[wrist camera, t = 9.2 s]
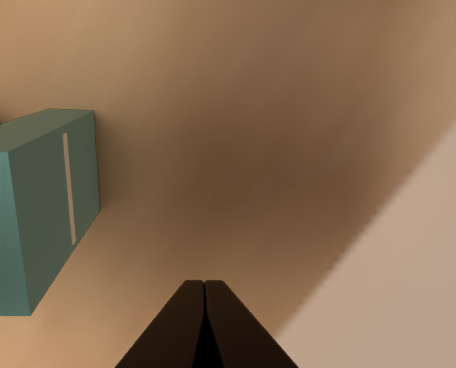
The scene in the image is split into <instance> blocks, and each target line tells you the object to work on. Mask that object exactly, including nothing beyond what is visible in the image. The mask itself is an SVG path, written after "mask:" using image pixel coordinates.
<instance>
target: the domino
mask: <svg viewBox="0 0 456 368" xmlns="http://www.w3.org/2000/svg"><path fill="white" fill-rule="evenodd" d="M99 211H100V208H99V191H98V175H97V158H96V141H95V125H94V111H92V110H70V109H45V110H42V111H39V112H36V113H33V114H30V115H27V116H24V117H21V118H18V119H15V120H12V121H8V122H5V123H2V124H0V316H31V314H32V313H33V311H34V310H35V308H36V307H37V305H38V304H39V302H40V301H41V299H42V298H43V296H44V295H45V293H46V292H47V290H48V289H49V287H50V285H51V284H52V282H53V281H54V279H55V278H56V276H57V275H58V273H59V272H60V270H61V269H62V267H63V266H64V264H65V263H66V261H67V260H68V258H69V257H70V255H71V254H72V252H73V251H74V249H75V247H76V246H77V244H78V243H79V241H80V240H81V238H82V237H83V235H84V234H85V232H86V231H87V229H88V228H89V226H90V225H91V223H92V222H93V220H94V219H95V217H96V216H97V214H98V213H99Z"/></svg>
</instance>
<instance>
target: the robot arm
mask: <svg viewBox="0 0 456 368" xmlns="http://www.w3.org/2000/svg"><path fill="white" fill-rule="evenodd" d="M115 368H299V367H298V366H297V365H296V364H295V363H294V362H293V361H292V359H291V358H290V357H289V356H288V355H287V354H286V352H285V351H284V350H283V349H282V348H281V347H280V346H279V344H278V343H277V342H276V341H275V340H274V339H273V337H272V336H271V335H270V334H269V333H268V332H267V331H266V329H265V328H264V327H263V326H262V325H261V324H260V323H259V321H258V320H257V319H256V318H255V317H254V316H253V315H252V313H251V312H250V311H249V310H248V309H247V308H246V307H245V305H244V304H243V303H242V302H241V301H240V300H239V298H238V297H237V296H236V295H235V294H234V293H233V292H232V290H231V289H230V288H229V287H228V286H227V285H226V284H225V282H224V281H222V280H206V281H205V282H203V281H202V280H185V281H184V282H183V283H182V285H181V286H180V287H179V288H178V290H177V291H176V292H175V293H174V295H173V296H172V297H171V298H170V300H169V301H168V302H167V303H166V304H165V306H164V307H163V308H162V309H161V311H160V312H159V313H158V314H157V316H156V317H155V318H154V319H153V321H152V322H151V323H150V324H149V326H148V327H147V328H146V329H145V331H144V332H143V333H142V334H141V336H140V337H139V338H138V339H137V341H136V342H135V343H134V344H133V346H132V347H131V348H130V349H129V351H128V352H127V353H126V354H125V356H124V357H123V358H122V359H121V361H120V362H119V363H118V364H117V365H116V367H115Z"/></svg>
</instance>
